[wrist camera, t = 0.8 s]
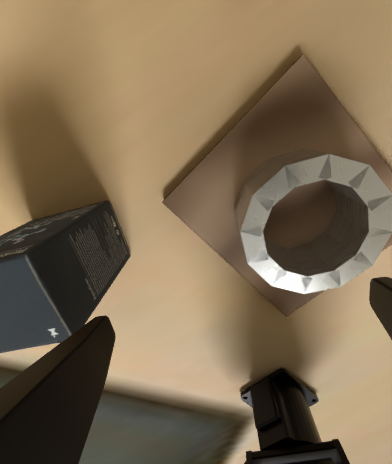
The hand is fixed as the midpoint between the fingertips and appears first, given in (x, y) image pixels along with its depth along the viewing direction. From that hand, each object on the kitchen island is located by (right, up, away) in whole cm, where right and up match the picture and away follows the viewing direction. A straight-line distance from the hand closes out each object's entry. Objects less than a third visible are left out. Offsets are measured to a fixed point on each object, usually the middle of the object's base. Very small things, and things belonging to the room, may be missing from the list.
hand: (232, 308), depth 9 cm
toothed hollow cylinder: (+7, +4, +12) cm, 14 cm away
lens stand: (+7, +5, +12) cm, 15 cm away
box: (-12, +2, +15) cm, 19 cm away
